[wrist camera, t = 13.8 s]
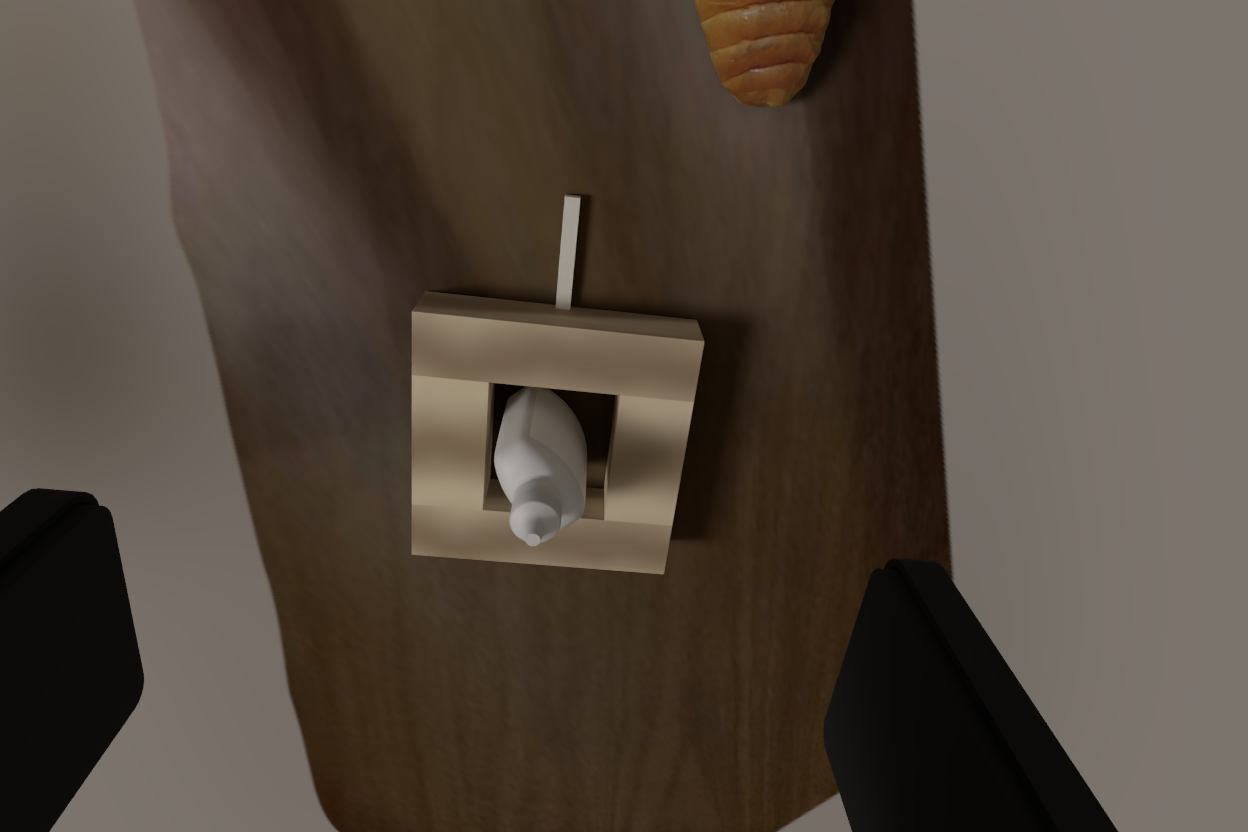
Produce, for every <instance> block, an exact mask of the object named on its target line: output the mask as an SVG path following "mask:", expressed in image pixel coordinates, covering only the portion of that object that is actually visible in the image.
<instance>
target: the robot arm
mask: <svg viewBox="0 0 1248 832" xmlns="http://www.w3.org/2000/svg"><path fill="white" fill-rule="evenodd" d="M143 684H144V673H143V668H142V663H141V658H140V654H139V648H138V643H137V638H136V633H135V628H134V624H133V618H132V614H131V608H130V603H129V598H128V593H127V588H126V583H125V578H124V573H123V569H122V563H121V558H120V553H119V548H118V543H117V538H116V533H115V528H114V523H113V518H112V515H111V512H110V511H109V510H108V508H106V507H104V506H99V504H98V501H97V500H96V498H95V497H94V496H93V495H92V494H89V493H87V492H77V491H65V490H53V489H40V488H38V489H31V490H29V491H27V492H25V493H23V494H22V495H21V496H19V497H18V498H17V499H16V500H14V501H13V502H12V503H11V504H9V505H8V506H7V507H5V508H4V509H3V510H2V511H1V512H0V832H49V831H50V830H51V828H52V827H53V825H54V824H55V823H56V821H57V820H58V818H59V817H60V815H61V814H62V813H63V811H64V810H65V808H66V807H67V805H68V804H69V802H70V801H71V800H72V798H73V797H74V795H75V794H76V792H77V791H78V789H79V788H80V787H81V785H82V784H83V782H84V781H85V779H86V778H87V777H88V775H89V774H90V772H91V771H92V769H93V768H94V766H95V765H96V764H97V762H98V761H99V759H100V758H101V757H102V755H103V754H104V752H105V751H106V749H107V748H108V747H109V745H110V744H111V742H112V741H113V739H114V738H115V736H116V735H117V734H118V732H119V731H120V729H121V728H122V726H123V725H124V724H125V722H126V721H127V719H128V718H129V716H130V715H131V714H132V712H133V711H134V709H135V707H136V705H137V704H138V702H139V700H140V697H141V694H142V690H143ZM823 731H824V744H825V748H826V752H827V755H828V758H829V761H830V765H831V768H832V771H833V774H834V777H835V780H836V783H837V786H838V789H839V792H840V795H841V798H842V802H843V804H844V808H845V811H846V814H847V817H848V820H849V823H850V826H851V829H852V832H1118V831H1117V829H1116V828H1115V826H1114V825H1113V823H1112V822H1111V820H1110V819H1109V817H1108V816H1107V814H1106V813H1105V811H1104V809H1103V808H1102V807H1101V805H1100V803H1099V802H1098V800H1097V799H1096V798H1095V796H1094V794H1093V793H1092V791H1091V790H1090V788H1089V787H1088V785H1087V784H1086V782H1085V781H1084V779H1083V778H1082V776H1081V775H1080V773H1079V772H1078V770H1077V769H1076V767H1075V766H1074V764H1073V763H1072V761H1071V760H1070V758H1069V757H1068V755H1067V754H1066V752H1065V751H1064V749H1063V748H1062V746H1061V745H1060V743H1059V742H1058V740H1057V739H1056V737H1055V736H1054V734H1053V732H1052V731H1051V730H1050V728H1049V726H1048V725H1047V723H1046V722H1045V720H1044V719H1043V717H1042V716H1041V715H1040V713H1039V711H1038V710H1037V708H1036V707H1035V705H1034V704H1033V702H1032V701H1031V699H1030V698H1029V696H1028V695H1027V693H1026V692H1025V690H1024V689H1023V687H1022V686H1021V684H1020V683H1019V681H1018V680H1017V678H1016V677H1015V675H1014V674H1013V672H1012V671H1011V669H1010V668H1009V666H1008V665H1007V663H1006V662H1005V660H1004V659H1003V657H1002V656H1001V654H1000V653H999V651H998V649H997V648H996V646H995V645H994V643H993V642H992V640H991V639H990V637H989V636H988V634H987V633H986V631H985V630H984V628H983V627H982V626H981V624H980V622H979V621H978V619H977V618H976V616H975V615H974V613H973V612H972V610H971V609H970V607H969V606H968V604H967V603H966V601H965V600H964V598H963V597H962V595H961V594H960V592H959V591H958V589H957V588H956V586H955V585H954V583H953V581H952V580H951V578H950V577H949V575H948V574H947V572H946V571H945V569H944V568H943V567H942V566H941V565H940V564H939V563H937V562H934V561H922V560H909V559H897V558H894V559H891V560H889V561H888V562H887V563H886V565H885V567H884V569H880V568H878V569H875V570H874V571H873V572H872V574H871V576H870V579H869V582H868V585H867V588H866V591H865V594H864V598H863V601H862V604H861V607H860V610H859V613H858V616H857V620H856V623H855V626H854V629H853V632H852V635H851V638H850V641H849V645H848V648H847V651H846V654H845V657H844V660H843V663H842V667H841V670H840V673H839V676H838V679H837V682H836V685H835V688H834V692H833V695H832V698H831V701H830V704H829V707H828V710H827V714H826V717H825V721H824V730H823Z"/></svg>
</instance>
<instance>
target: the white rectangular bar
mask: <svg viewBox="0 0 1248 832" xmlns="http://www.w3.org/2000/svg"><path fill="white" fill-rule="evenodd" d="M580 198H581V196H575V195H567V194H565V201H564V213H563V225H562V237H561V249H560V260H559V272H558V284H557V296H556V308H557V309H567V310H570V306H571V295H572V284H573V274H574V263H575V252H576V241H577V231H578V220H579V209H580Z"/></svg>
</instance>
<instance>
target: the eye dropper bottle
mask: <svg viewBox="0 0 1248 832" xmlns="http://www.w3.org/2000/svg"><path fill="white" fill-rule="evenodd" d="M494 464H495V469H496V473H497V476H498V479H499V482H500V484H501V487H502V489H503V491H504V493H505V494H506V496H507V498H508V499H509V501H510V502H511V503H512V508H511V513H510V519H509V520H510V521H509V522H510V527H511V529H512V531H513V533H514V534H515V535H516V536H517V537H518V538H520V539H521V540H523V541H525V542H526V543H527V544H528V545H529V546H537V545H538V544H539V543H542V542H546V541H548V540H550V539H551V538H553V537H555V535H556V534H557V533H558V531H559V530H561V529H563V528H565V527H567V526H569V525H571V524H572V523H574V522H575V521H577V520H578V519H579V518H580V517H581V516H582V515H583V513H584V509H585V499H586V473H587V444H586V439H585V436H584V433H583V430H582V427H581V425H580V423H579V421H578V419H577V417H576V416H575V414H574V413H573V411H572V410H571V409H570V407H569V406H568V405H567V404H566V403H565V402H564V401H563V400H562V399H561V398H560V397H559V396H558V395H556V394H555V393H554V392H552V391H551V390H550V389H548V388H541V387H530V386H526V387H524V388H522V389H521V390H519V391H518V392H516V393H514V394H513V395H511V396H510V397H509V399H508V400H507V404H506V407H505V411H504V415H503V419H502V423H501V427H500V432H499V436H498V440H497V444H496V449H495V455H494Z"/></svg>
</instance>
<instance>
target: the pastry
mask: <svg viewBox="0 0 1248 832" xmlns="http://www.w3.org/2000/svg"><path fill="white" fill-rule="evenodd" d="M834 1H835V0H695V5H696V9H697V11H698V14H699V17H700V21H701V26H702V28H703V30H704V33H705V36H706V40H707V45H708V48H709V51H710V56H711V59H712V62H713V65H714V68H715V71H716V73H717V75H718V77H719V79H720V81H721V83H722V85H723V86H724V87H725V88H726V89H728V91H729V92H730V94H731V95H732V96H733V97H734V98H735V99H736V100H737V101H738V102H739V103H740V104H742V105H745V106H753V107H763V106H769V107H779V106H784V105H785V104H787V103H788V102H789V101H790V100H791V98H792V97H793V96H795V95H796V93H797V92H798V91H799V90H801V89H802V88H803V86H804V85H805V84H806V82H807V79H808V75H809V73H810V71H811V68H812V64H813V62H814V61H815V60H816V58H817V57H818V55H819V54H820V52H821V45H822V43H823V40H824V36H825V31H826V29H827V26H828V24H829V20H830V14H831V8H832V5H833V3H834Z"/></svg>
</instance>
